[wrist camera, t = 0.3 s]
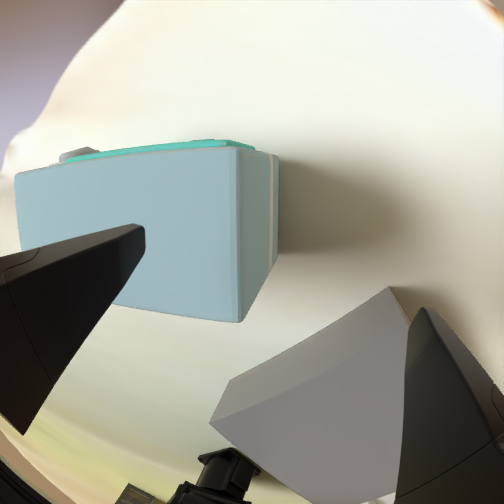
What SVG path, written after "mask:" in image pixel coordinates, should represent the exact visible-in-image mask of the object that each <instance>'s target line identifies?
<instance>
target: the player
mask: <svg viewBox="0 0 504 504" xmlns="http://www.w3.org/2000/svg"><path fill="white" fill-rule="evenodd" d="M410 325H411V321H410V320H409V318H408V316H407V315H406V313H405V311H404V310H403V308H402V307H401V305H400V303H399V302H398V300H397V299H396V297H395V295H394V294H393V292H392V291H391V289H390V288H389V287H387V288H386V289H384V290H383V291H381V292H380V293H378V294H377V295H375V296H374V297H373V298H371V299H370V300H368V301H366V302H365V303H363V304H362V305H360V306H359V307H357V308H356V309H354V310H353V311H351V312H350V313H348V314H346V315H345V316H343V317H342V318H340V319H338V320H337V321H335V322H334V323H332V324H330V325H329V326H327V327H325V328H324V329H322V330H320V331H319V332H317V333H315V334H314V335H312V336H310V337H309V338H307V339H305V340H303V341H302V342H300V343H298V344H297V345H295V346H293V347H291V348H289V349H288V350H286V351H284V352H282V353H281V354H279V355H277V356H275V357H273V358H271V359H270V360H268V361H266V362H264V363H262V364H260V365H258V366H256V367H254V368H253V369H251V370H249V371H247V372H245V373H243V374H241V375H239V376H237V377H235V378H233V379H231V380H230V381H229V383H228V385H227V387H226V389H225V391H224V393H223V395H222V397H221V399H220V401H219V403H218V405H217V407H216V410H215V412H214V414H213V416H212V418H211V420H210V422H209V424H210V425H211V426H212V427H214V428H215V429H216V430H217V431H218V432H219V433H220V434H221V435H223V436H224V437H225V438H226V439H227V440H228V441H229V442H231V443H232V444H233V445H234V446H235V447H237V448H238V449H239V450H240V451H241V452H243V453H244V454H245V455H246V456H248V457H249V458H250V459H251V460H252V461H254V462H255V463H256V464H258V465H259V466H260V467H261V468H263V469H264V470H265V471H267V472H268V473H269V474H271V475H272V476H273V477H275V478H276V479H277V480H279V481H280V482H282V483H283V484H284V485H286V486H287V487H289V488H290V489H291V490H293V491H294V492H296V493H297V494H299V495H300V496H302V497H303V498H305V499H306V500H308V501H309V502H311V503H312V504H362V503H365V502H368V501H371V500H374V499H377V498H380V497H383V496H386V495H389V494H391V493H394V492H396V487H397V480H398V473H399V464H400V455H401V444H402V430H403V412H404V372H405V361H406V350H407V336H408V329H409V326H410Z"/></svg>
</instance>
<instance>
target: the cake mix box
mask: <svg viewBox="0 0 504 504" xmlns="http://www.w3.org/2000/svg"><path fill="white" fill-rule="evenodd" d="M154 499H155V497H154V496H152V495H150V494H148V493H146V492H144V491H142V490H140V489H138V488H137V487H135V486H133V485H131V484H129V483H128V485H127V486H126V488H125V489H124V491H123V492H122V494H121V495H120V497H119V498H118V500H117V501H116V503H115V504H153V501H154Z"/></svg>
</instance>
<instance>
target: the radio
mask: <svg viewBox="0 0 504 504" xmlns="http://www.w3.org/2000/svg"><path fill="white" fill-rule="evenodd" d="M14 189H15V203H16V213H17V222H18V230H19V238H20V244H21V250H22V252H23V251H26V250H30V249H34V248H37V247H42V246H44V245H48V244H52V243H55V242H59V241H63V240H67V239H70V238H74V237H78V236H82V235H86V234H90V233H94V232H98V231H102V230H106V229H110V228H114V227H119V226H123V225H127V224H131V223H135V224H138V225H142V226H143V227H144V228H145V239H146V250H145V253H144V256H143V257H142V259H141V260H140V262H139V264H138V265H137V267H136V268H135V270H134V271H133V273H132V275H131V276H130V278H129V280H128V281H127V283H126V284H125V286H124V287H123V289H122V290H121V292H120V293H119V294H118V296H117V297H116V298H115V300H114V301H113V302H112V304H114V305H120V306H125V307H130V308H136V309H142V310H148V311H153V312H160V313H166V314H172V315H179V316H185V317H192V318H199V319H206V320H214V321H222V322H232V323H239V322H242V321H243V320H244V318H245V317H246V315H247V313H248V311H249V309H250V307H251V305H252V304H253V302H254V300H255V298H256V296H257V294H258V292H259V291H260V289H261V287H262V285H263V283H264V281H265V279H266V277H267V275H268V273H269V272H270V270H271V267H272V266H273V264H274V262H275V260H276V258H277V253H278V203H279V160H278V157H277V156H275V155H272V154H268V153H264V152H260V151H256V150H255V148H254V147H253V146H249V145H246V144H242V143H239V142H235V141H231V140H214V139H207V140H193V141H190V142H179V143H168V144H158V145H149V146H140V147H132V148H125V149H117V150H111V151H104V152H100V151H99V150H94V149H92V148H89V147H84V148H81V149H77V150H74V151H70V152H67V153H64V154H61V155H60V157H59V163H55V164H51V165H49V167H44V168H39V169H34V170H30V171H25V172H21V173H18V174H16V175H15V177H14Z"/></svg>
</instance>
